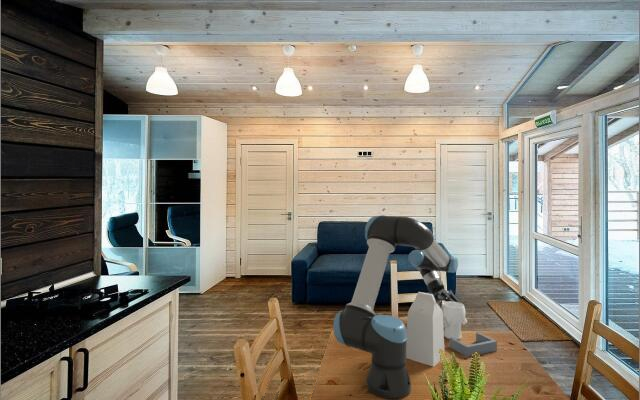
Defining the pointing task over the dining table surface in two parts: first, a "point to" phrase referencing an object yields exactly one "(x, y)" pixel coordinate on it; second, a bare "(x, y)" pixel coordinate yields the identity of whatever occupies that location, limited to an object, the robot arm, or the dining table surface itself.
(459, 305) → the cup
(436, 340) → the milk
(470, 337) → the dining table surface
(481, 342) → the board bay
